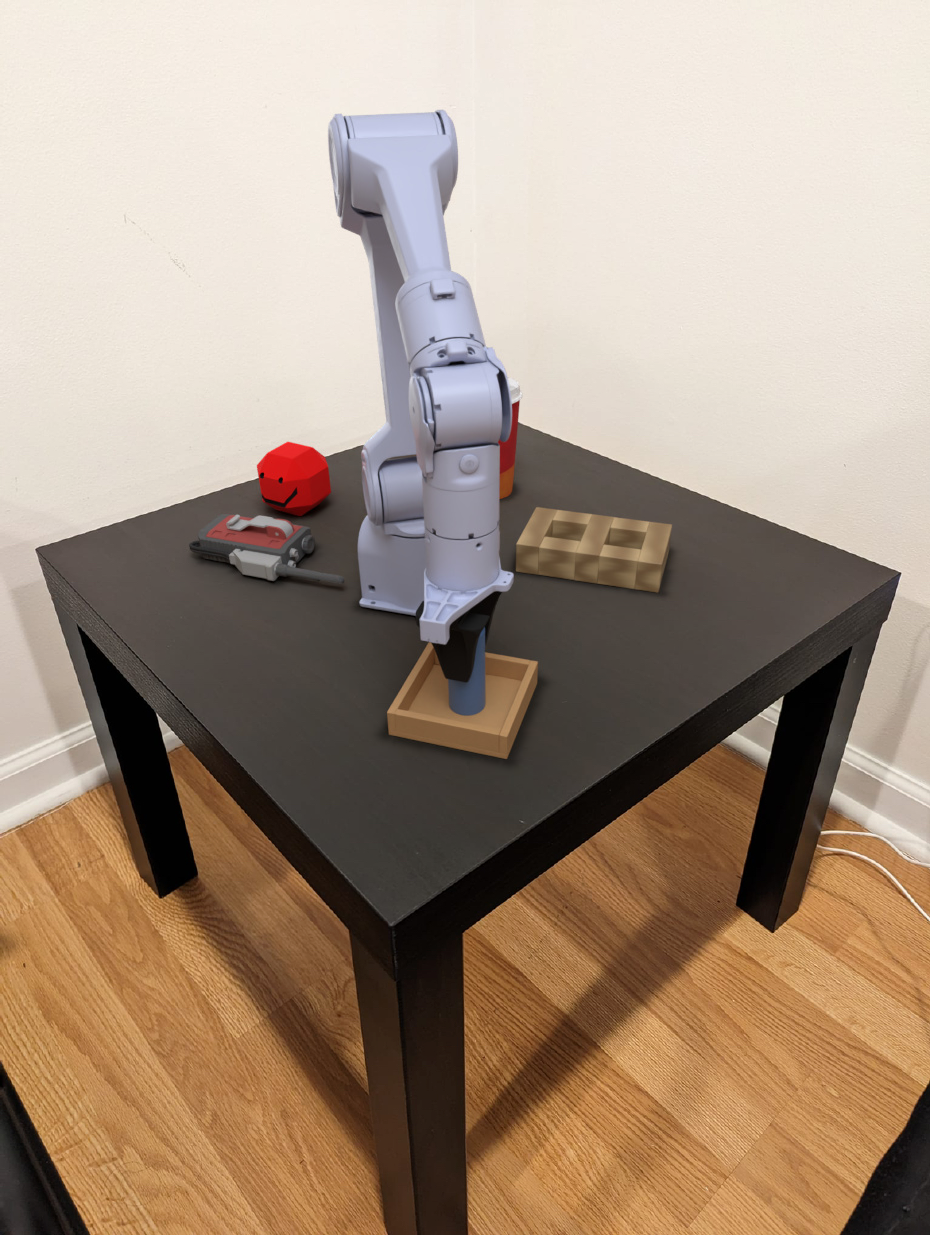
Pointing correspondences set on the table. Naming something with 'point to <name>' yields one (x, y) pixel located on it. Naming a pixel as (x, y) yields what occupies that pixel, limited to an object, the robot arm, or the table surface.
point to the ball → (293, 478)
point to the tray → (486, 732)
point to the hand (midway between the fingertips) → (464, 664)
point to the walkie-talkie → (259, 546)
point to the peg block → (594, 549)
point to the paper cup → (509, 444)
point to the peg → (470, 686)
